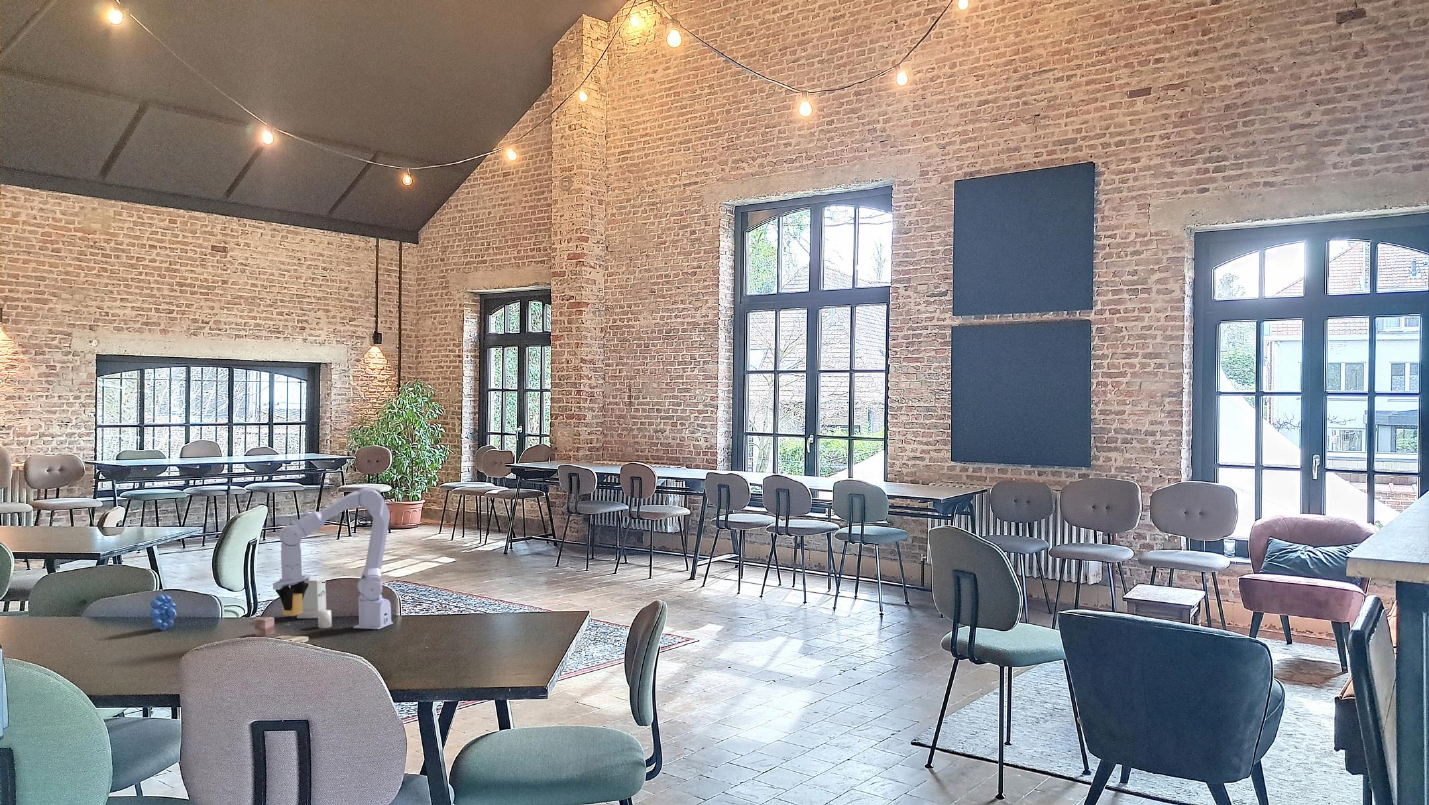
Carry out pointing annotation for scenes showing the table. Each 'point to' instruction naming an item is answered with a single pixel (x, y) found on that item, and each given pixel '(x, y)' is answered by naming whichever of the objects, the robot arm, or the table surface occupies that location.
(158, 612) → the grapes
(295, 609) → the ochre block
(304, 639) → the ash board
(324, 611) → the grey cylinder
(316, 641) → the table surface
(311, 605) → the supplement box
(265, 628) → the rose block
